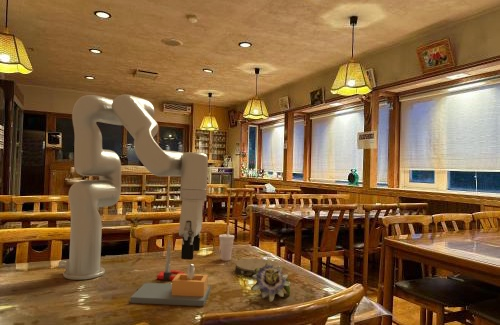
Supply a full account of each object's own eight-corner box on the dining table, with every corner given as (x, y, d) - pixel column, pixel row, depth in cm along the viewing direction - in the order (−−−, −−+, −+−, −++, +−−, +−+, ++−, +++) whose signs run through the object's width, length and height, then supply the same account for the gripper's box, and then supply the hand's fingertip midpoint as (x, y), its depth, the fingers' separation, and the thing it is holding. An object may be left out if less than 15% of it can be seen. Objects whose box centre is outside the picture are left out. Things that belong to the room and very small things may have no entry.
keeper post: (185, 292, 99) (186, 264, 99) (187, 290, 101) (188, 262, 101) (192, 293, 99) (193, 264, 99) (194, 290, 101) (195, 263, 101)
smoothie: (233, 261, 140) (234, 226, 140) (217, 261, 140) (218, 226, 140) (234, 257, 146) (235, 224, 146) (218, 257, 146) (220, 223, 146)
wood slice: (286, 277, 123) (286, 268, 123) (243, 280, 117) (244, 271, 117) (268, 265, 138) (268, 257, 138) (230, 267, 132) (230, 259, 132)
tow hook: (164, 272, 124) (153, 279, 114) (167, 236, 124) (156, 239, 115) (187, 275, 122) (178, 282, 113) (189, 237, 123) (180, 241, 114)
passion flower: (270, 320, 99) (250, 289, 96) (258, 299, 109) (240, 271, 106) (302, 296, 101) (284, 266, 97) (287, 278, 111) (270, 249, 108)
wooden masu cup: (171, 295, 97) (172, 280, 97) (177, 287, 104) (177, 273, 104) (203, 296, 97) (204, 282, 97) (207, 288, 103) (207, 274, 103)
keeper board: (130, 302, 95) (130, 297, 95) (145, 287, 107) (145, 282, 107) (203, 306, 94) (203, 300, 94) (210, 290, 106) (210, 285, 106)
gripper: (186, 192, 109) (184, 247, 109) (172, 197, 92) (170, 262, 92) (210, 193, 109) (208, 248, 109) (201, 198, 92) (198, 263, 92)
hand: (190, 254), depth 100 cm, fingers open, 9 cm apart
